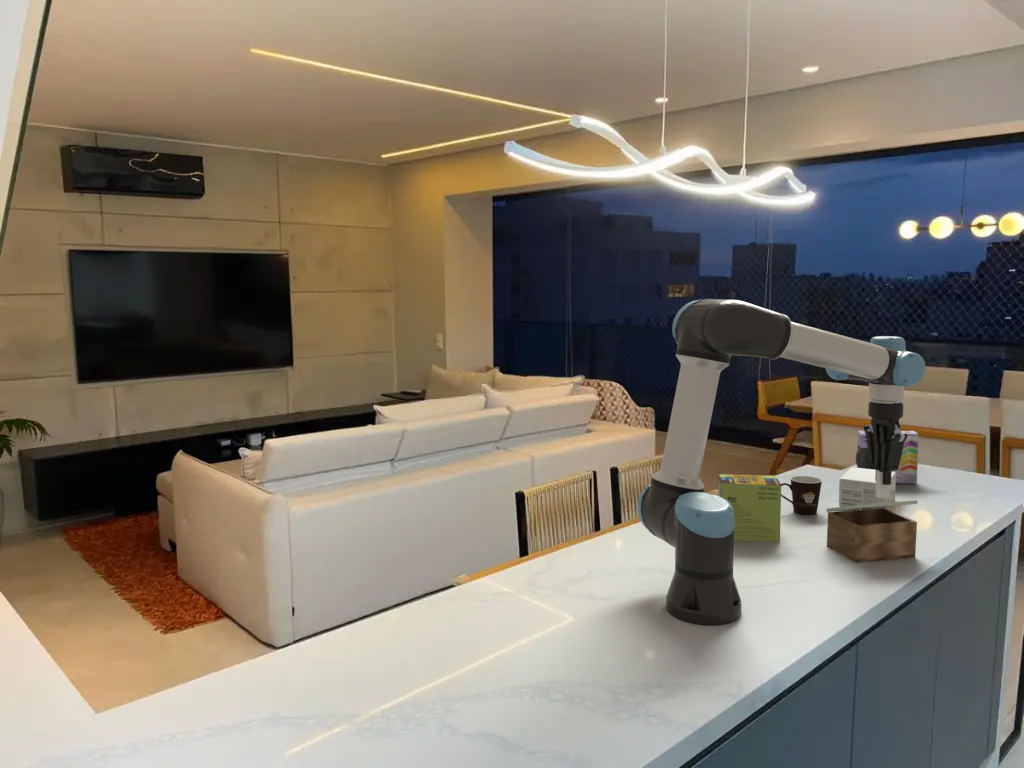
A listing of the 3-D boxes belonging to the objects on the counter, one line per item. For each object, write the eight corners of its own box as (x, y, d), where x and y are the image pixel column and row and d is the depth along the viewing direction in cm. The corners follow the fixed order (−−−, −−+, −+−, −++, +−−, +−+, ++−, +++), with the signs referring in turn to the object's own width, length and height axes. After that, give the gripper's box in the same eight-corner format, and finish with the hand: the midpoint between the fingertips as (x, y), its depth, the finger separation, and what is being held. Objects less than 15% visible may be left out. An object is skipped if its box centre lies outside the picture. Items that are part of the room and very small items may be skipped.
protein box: (780, 542, 195) (782, 484, 193) (719, 540, 198) (720, 482, 196) (775, 530, 205) (776, 475, 203) (717, 527, 208) (717, 473, 206)
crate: (856, 562, 179) (857, 526, 178) (826, 546, 191) (827, 512, 190) (915, 557, 182) (917, 521, 181) (882, 541, 194) (884, 508, 193)
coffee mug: (823, 510, 222) (824, 478, 220) (817, 518, 214) (818, 484, 213) (782, 505, 228) (783, 473, 227) (776, 512, 221) (776, 479, 219)
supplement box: (849, 495, 239) (850, 466, 238) (895, 501, 231) (896, 471, 230) (837, 507, 225) (838, 477, 224) (885, 514, 218) (886, 483, 216)
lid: (856, 508, 178) (855, 504, 178) (826, 511, 190) (826, 508, 190) (917, 503, 181) (917, 499, 181) (885, 507, 193) (884, 504, 193)
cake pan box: (856, 483, 252) (858, 432, 250) (852, 480, 257) (854, 429, 255) (917, 485, 249) (920, 433, 246) (912, 481, 254) (914, 430, 251)
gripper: (919, 403, 173) (915, 502, 176) (881, 396, 186) (878, 488, 188) (890, 405, 172) (886, 505, 174) (854, 398, 184) (851, 490, 187)
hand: (882, 496), depth 181 cm, fingers closed
